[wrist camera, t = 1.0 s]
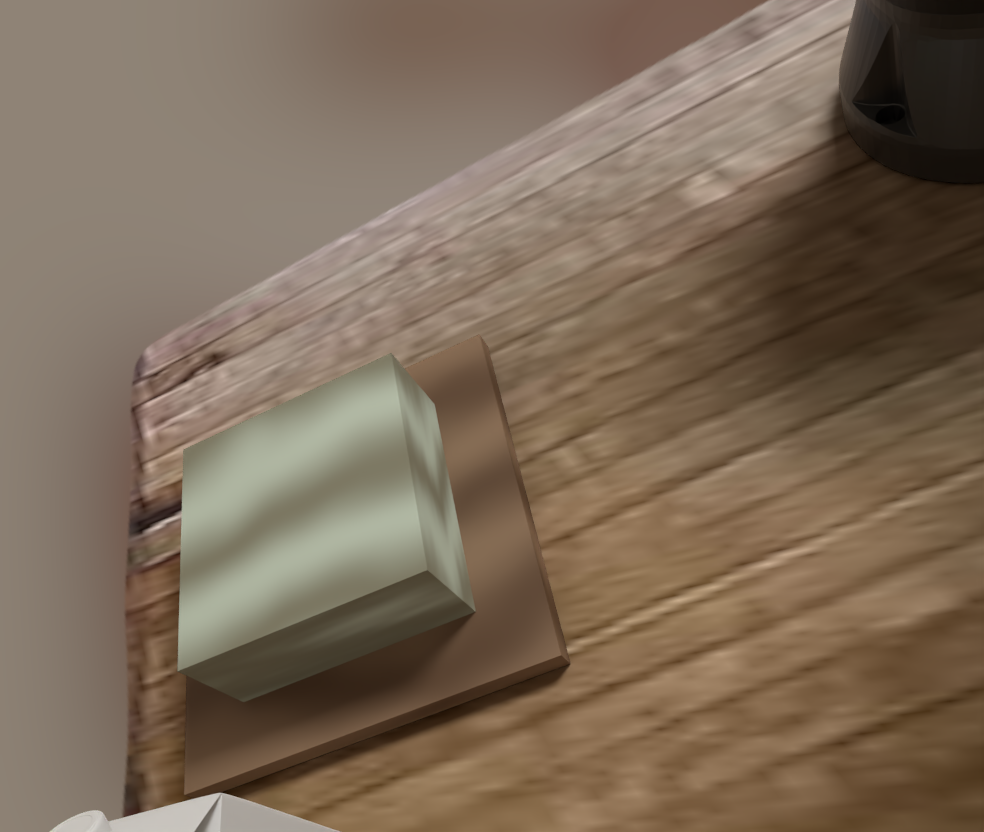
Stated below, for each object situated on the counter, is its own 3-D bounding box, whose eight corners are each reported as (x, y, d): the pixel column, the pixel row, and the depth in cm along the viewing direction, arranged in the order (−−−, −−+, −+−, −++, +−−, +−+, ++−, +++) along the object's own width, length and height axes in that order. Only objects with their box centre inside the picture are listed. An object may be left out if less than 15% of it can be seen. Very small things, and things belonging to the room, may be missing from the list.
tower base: (203, 476, 58) (134, 425, 53) (487, 346, 54) (440, 279, 49) (200, 800, 45) (110, 771, 41) (570, 663, 41) (517, 614, 36)
